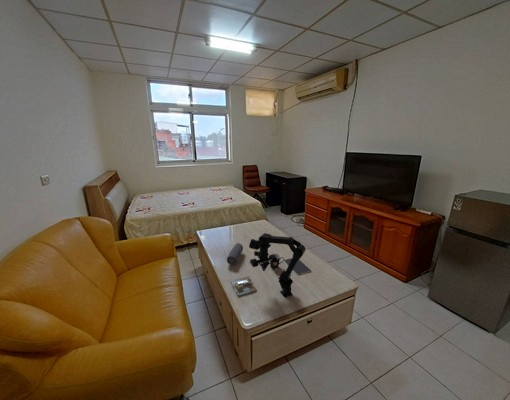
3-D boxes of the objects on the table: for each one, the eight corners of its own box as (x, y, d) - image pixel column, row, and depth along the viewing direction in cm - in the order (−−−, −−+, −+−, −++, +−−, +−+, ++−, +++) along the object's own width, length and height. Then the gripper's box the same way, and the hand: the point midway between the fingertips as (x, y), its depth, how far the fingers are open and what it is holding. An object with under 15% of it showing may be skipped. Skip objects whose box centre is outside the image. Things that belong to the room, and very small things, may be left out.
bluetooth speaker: (237, 266, 178) (236, 256, 175) (226, 265, 180) (225, 255, 177) (243, 252, 199) (243, 243, 197) (234, 251, 201) (233, 242, 198)
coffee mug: (267, 268, 176) (267, 257, 173) (271, 262, 184) (271, 252, 181) (281, 271, 172) (281, 260, 169) (284, 266, 179) (284, 255, 176)
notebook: (311, 272, 172) (296, 258, 191) (311, 270, 172) (296, 257, 191) (297, 275, 168) (283, 261, 187) (297, 274, 167) (284, 259, 186)
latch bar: (250, 281, 158) (250, 277, 157) (252, 284, 155) (252, 280, 154) (237, 284, 155) (237, 280, 154) (238, 287, 152) (238, 283, 151)
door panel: (256, 291, 150) (256, 286, 149) (237, 296, 145) (237, 292, 144) (248, 277, 164) (248, 273, 163) (230, 282, 159) (230, 278, 158)
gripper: (270, 243, 159) (270, 262, 164) (247, 248, 152) (247, 267, 157) (277, 250, 149) (277, 270, 154) (253, 256, 142) (253, 276, 147)
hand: (263, 270), depth 153 cm, fingers closed
